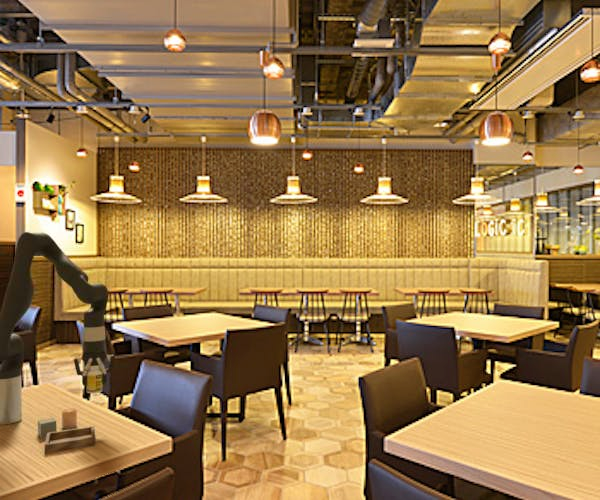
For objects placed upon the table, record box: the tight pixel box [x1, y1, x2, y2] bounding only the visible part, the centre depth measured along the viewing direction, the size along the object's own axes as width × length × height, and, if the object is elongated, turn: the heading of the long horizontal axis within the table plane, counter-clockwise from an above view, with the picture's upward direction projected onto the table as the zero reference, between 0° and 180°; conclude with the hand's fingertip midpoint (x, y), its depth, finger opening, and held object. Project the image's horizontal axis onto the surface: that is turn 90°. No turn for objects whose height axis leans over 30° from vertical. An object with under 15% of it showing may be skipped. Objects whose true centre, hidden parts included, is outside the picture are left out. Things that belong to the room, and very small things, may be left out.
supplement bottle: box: [86, 365, 103, 394], centre depth 184 cm, size 5×5×10 cm
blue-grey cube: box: [37, 417, 58, 439], centre depth 180 cm, size 5×5×5 cm
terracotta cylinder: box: [61, 407, 78, 430], centre depth 187 cm, size 5×5×6 cm
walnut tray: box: [44, 425, 96, 455], centre depth 171 cm, size 15×12×3 cm
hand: (94, 384), depth 184 cm, fingers closed on supplement bottle, 5 cm apart
